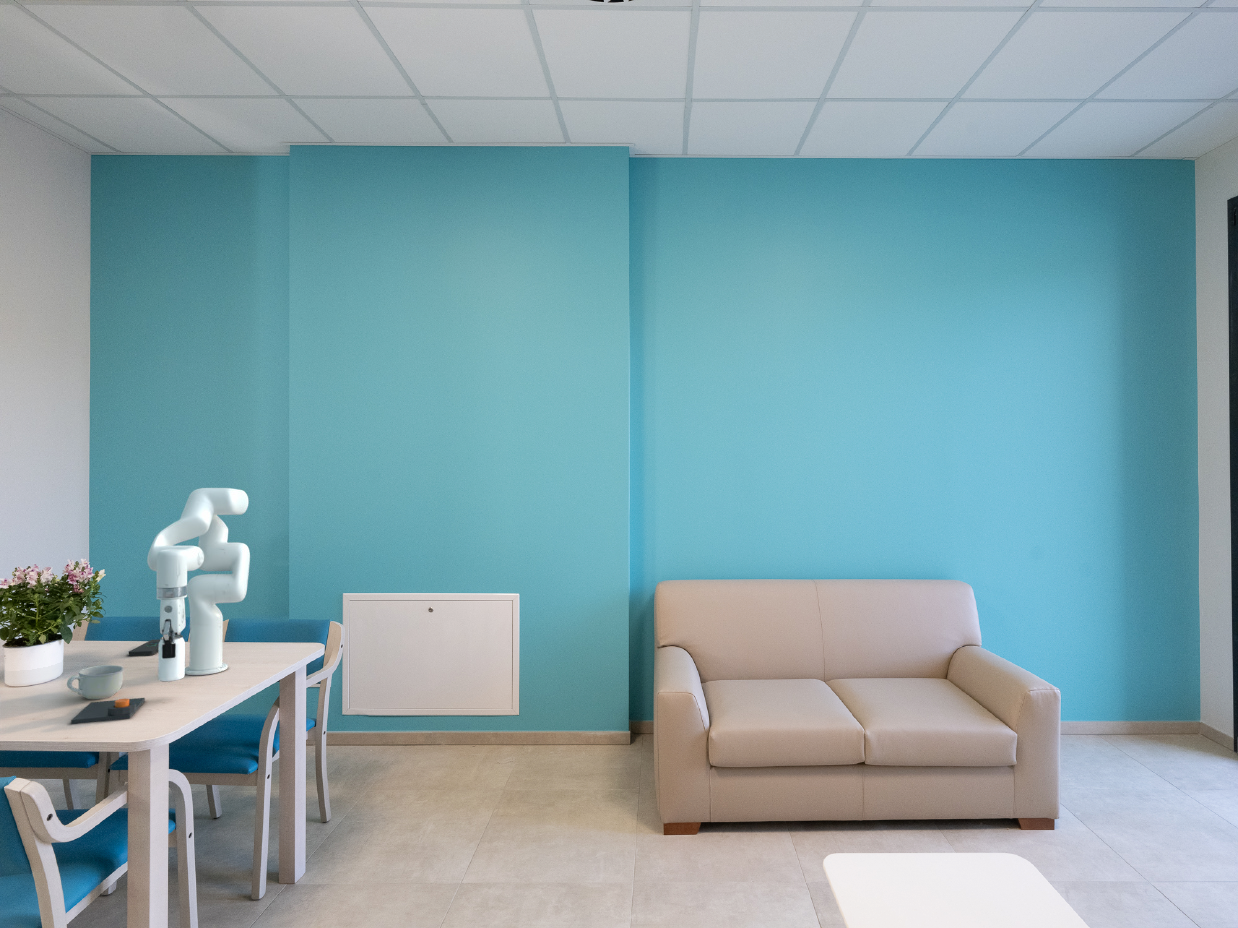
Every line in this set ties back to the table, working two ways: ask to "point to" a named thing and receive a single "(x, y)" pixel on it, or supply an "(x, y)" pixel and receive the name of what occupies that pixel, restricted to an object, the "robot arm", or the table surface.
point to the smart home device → (146, 649)
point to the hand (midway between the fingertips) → (171, 654)
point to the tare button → (121, 703)
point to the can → (172, 662)
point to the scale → (107, 711)
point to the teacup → (98, 681)
